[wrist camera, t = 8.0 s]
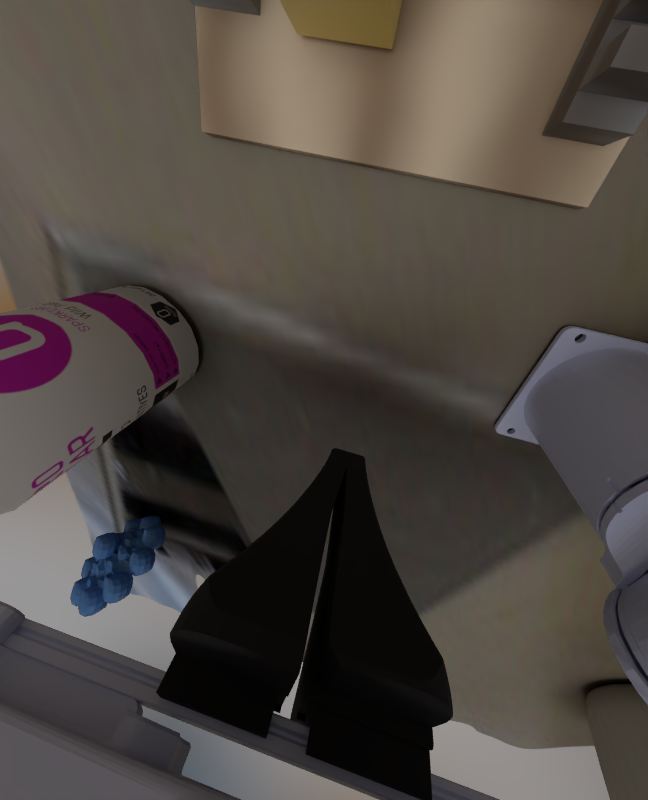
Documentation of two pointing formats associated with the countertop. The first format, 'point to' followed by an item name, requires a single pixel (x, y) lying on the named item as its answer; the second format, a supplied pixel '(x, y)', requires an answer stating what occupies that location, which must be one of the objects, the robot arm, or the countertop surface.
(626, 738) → the canister
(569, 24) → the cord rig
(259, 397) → the countertop surface
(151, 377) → the supplement can
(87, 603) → the grapes
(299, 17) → the sleeve
